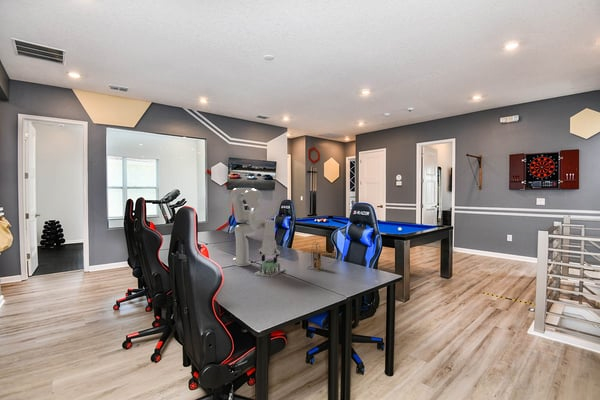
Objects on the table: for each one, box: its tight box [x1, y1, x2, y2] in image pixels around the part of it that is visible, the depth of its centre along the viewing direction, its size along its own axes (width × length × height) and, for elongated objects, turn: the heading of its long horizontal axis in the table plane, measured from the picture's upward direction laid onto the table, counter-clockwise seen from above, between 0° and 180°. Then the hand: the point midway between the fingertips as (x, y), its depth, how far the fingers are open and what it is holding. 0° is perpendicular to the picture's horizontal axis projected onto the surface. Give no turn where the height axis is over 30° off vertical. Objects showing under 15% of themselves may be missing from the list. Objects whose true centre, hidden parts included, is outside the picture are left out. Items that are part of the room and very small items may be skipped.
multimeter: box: [309, 241, 324, 272], centre depth 211 cm, size 15×10×20 cm
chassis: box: [254, 263, 286, 278], centre depth 204 cm, size 18×14×6 cm
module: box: [261, 258, 278, 271], centre depth 204 cm, size 12×6×6 cm, turn 159°
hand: (269, 262), depth 204 cm, fingers open, 9 cm apart
